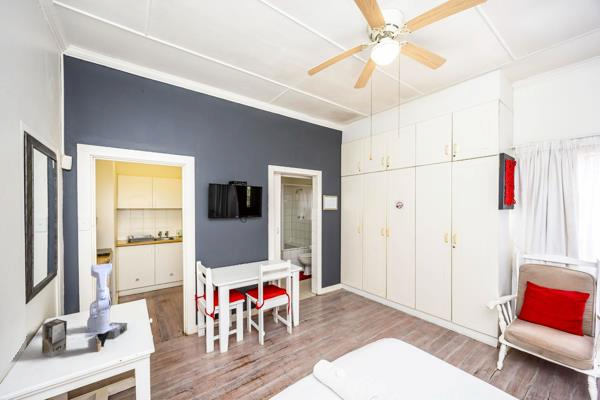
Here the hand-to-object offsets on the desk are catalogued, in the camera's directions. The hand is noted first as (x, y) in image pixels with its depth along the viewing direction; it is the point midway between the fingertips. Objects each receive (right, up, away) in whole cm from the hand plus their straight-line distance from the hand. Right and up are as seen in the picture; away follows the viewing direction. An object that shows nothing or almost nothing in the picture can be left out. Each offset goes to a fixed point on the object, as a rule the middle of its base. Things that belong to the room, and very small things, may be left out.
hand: (102, 346), depth 134 cm
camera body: (-6, -2, +15) cm, 16 cm away
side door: (-6, -1, +4) cm, 7 cm away
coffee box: (-23, -2, -3) cm, 24 cm away
